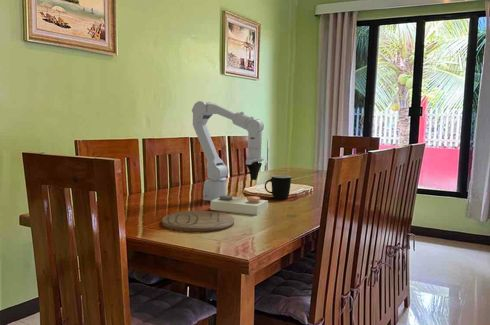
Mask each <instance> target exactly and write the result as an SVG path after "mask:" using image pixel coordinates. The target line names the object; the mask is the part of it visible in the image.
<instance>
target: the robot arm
mask: <svg viewBox="0 0 490 325" xmlns="http://www.w3.org/2000/svg"><path fill="white" fill-rule="evenodd" d="M191 113H192V126H193V129H194V132H195V134H196V137H197V139H198V141H199V143H200V146H201V149H202V151H203V154H204V156H205V159H206V165H205V168H206V170H207V171H206V174H207V177H208V178H209V179H206V180H204V184H203V196H202V197H203V198H202V201H207V202H211V201H212V200H214V199H217V198H220V196H222V195H227V194H226V192H227V178H226V177H228V174H229V167H228V166H227V165H226V164H225V163H224V160H223V159H221V158H220V157H219V154H218V151H217V149H216V146H215V144H214V142H213V140H212V137H211V133H210V132H209V130H208V126H207V123H208V121H209V119H210V118H211V117H212V116H213V115H218V116H221V117H223V118H226V119H229V120H231V122H232V124H233V125H235V126H237V127H239V128H242V129H243V130H246V132H248V135H247V136H248V137H247V158H246V159H245V165H246V167H247V169H248V173H249V176H250V180H251V181H257V179H258V177H259V176H258V175H259V172H260V169H261V168H262V166H263V163H262V162H263V161H264V160H265V159H264V158H263V157H262V140H263V138H262V136H263V130H264V127H265V124H264V122H263V121H262V120H260V119H257V118H255V117H254V116H249V115H247V114H245V112H244V111H237V112H234V111H233V110H229V109H227V108H226V107H223V106H222V105H219V104H217V103H213V102H211V101H200V100H198V101H196V102H195V103H194V105H193V106H192V108H191Z"/></svg>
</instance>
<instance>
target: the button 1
mask: <svg viewBox="0 0 490 325" xmlns="http://www.w3.org/2000/svg"><path fill="white" fill-rule="evenodd" d="M232 197H233V196H232V195H228V194H226V195H222V196H220V199H221V200H224V201H230V200H232Z"/></svg>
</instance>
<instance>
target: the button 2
mask: <svg viewBox="0 0 490 325" xmlns="http://www.w3.org/2000/svg"><path fill="white" fill-rule="evenodd" d="M246 198H247V200H248V203H253V204H258V201H260V200H261V197H260V196H254V195H253V196H247V197H246Z"/></svg>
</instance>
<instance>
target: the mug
mask: <svg viewBox="0 0 490 325" xmlns="http://www.w3.org/2000/svg"><path fill="white" fill-rule="evenodd" d="M269 182H271V183H270V184H271V191H270V190H269V189H267V184H268V183H269ZM291 182H292V177H291V176H290V175H286V174H285V175H284V174H274V175H271V178H270V179H267V180H266V182H265V183H264V190H265V191H266V192H267V193H268V194H271V195H272V197H273V198H274V199H276V200H287V199H288V198H289V196H290V191H291V185H292V184H291Z"/></svg>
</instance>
